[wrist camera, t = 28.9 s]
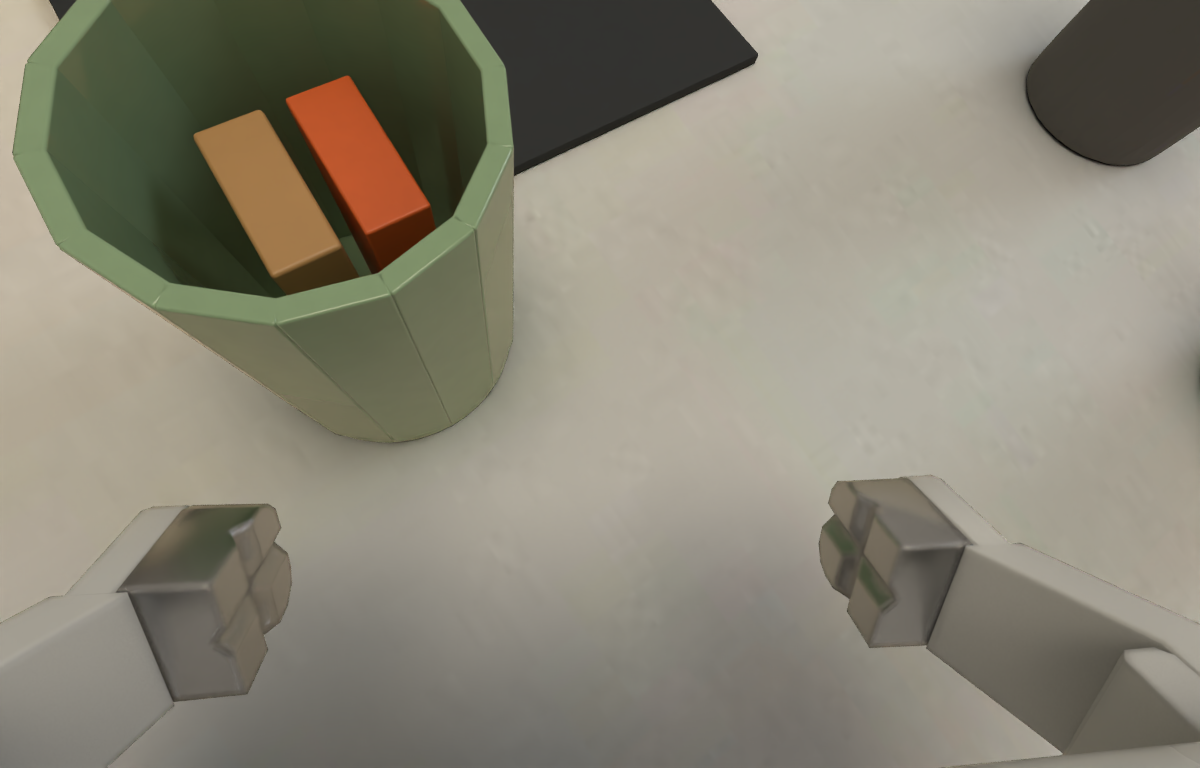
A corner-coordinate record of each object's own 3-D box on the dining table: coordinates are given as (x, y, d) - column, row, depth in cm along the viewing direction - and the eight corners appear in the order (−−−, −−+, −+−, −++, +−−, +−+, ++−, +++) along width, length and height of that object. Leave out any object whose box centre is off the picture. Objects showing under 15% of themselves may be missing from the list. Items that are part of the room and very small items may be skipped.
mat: (216, 314, 17) (209, 307, 17) (44, -16, 20) (35, -27, 20) (755, 63, 22) (759, 54, 22) (554, -169, 25) (554, -180, 25)
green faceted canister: (341, 491, 16) (139, 417, 7) (228, 285, 17) (-63, 9, 8) (554, 370, 18) (595, 195, 9) (440, 190, 19) (379, -120, 10)
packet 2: (424, 363, 17) (366, 235, 10) (372, 275, 17) (283, 97, 10) (463, 343, 17) (431, 205, 10) (411, 257, 17) (348, 73, 11)
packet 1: (370, 392, 16) (271, 278, 10) (318, 301, 17) (189, 132, 10) (411, 370, 16) (342, 245, 10) (359, 282, 17) (260, 105, 10)
